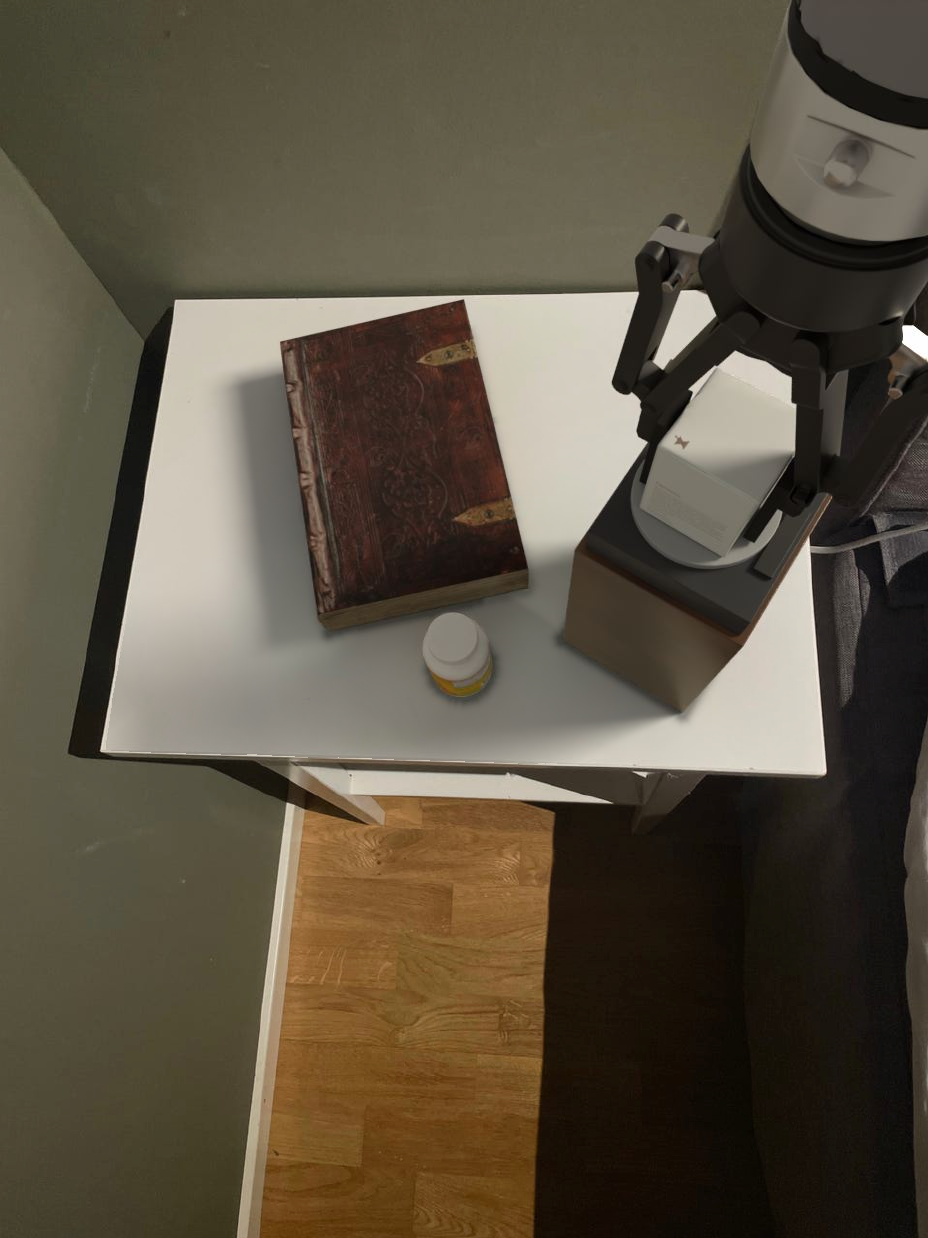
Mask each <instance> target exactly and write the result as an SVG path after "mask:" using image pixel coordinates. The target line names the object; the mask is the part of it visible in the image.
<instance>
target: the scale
mask: <svg viewBox="0 0 928 1238" xmlns="http://www.w3.org/2000/svg"><path fill="white" fill-rule="evenodd" d="M646 444H647V445H646ZM646 444H645V445H646V446H645V445H644V447H645V448H644V447H643V448H644V449H643V448H642V450H643V451H642V450H641V451H642V452H641V451H640V453H641V454H640V453H639V454H640V455H639V454H638V456H639V457H638V456H637V457H638V458H637V457H636V459H637V460H636V459H635V460H636V461H635V460H634V462H635V463H634V462H633V463H634V464H633V463H632V464H631V466H632V467H631V466H630V467H631V468H630V467H629V469H630V470H629V469H628V470H629V471H628V470H627V472H628V473H627V472H626V473H627V474H626V473H625V475H626V476H625V475H624V476H625V477H624V476H623V478H624V479H623V478H622V479H623V480H622V479H621V481H622V482H621V481H620V482H621V483H620V482H619V484H620V485H619V484H618V485H619V486H618V485H617V487H618V488H617V487H616V488H617V489H616V488H615V490H616V491H615V490H614V491H615V492H614V491H613V492H614V493H612V494H613V495H612V494H611V495H612V496H610V497H611V498H610V497H609V498H610V499H609V498H608V500H609V501H608V500H607V501H608V502H607V501H606V503H607V504H606V503H605V504H606V505H605V504H604V506H605V507H604V506H603V507H604V508H603V507H602V509H603V510H602V509H601V510H602V511H601V510H600V512H601V513H600V512H599V513H600V514H599V513H598V515H599V516H598V515H597V516H598V517H597V516H596V517H597V518H596V517H595V519H596V520H595V519H594V520H595V521H594V520H593V522H594V523H593V522H592V523H593V524H591V525H592V526H591V525H590V526H591V527H589V528H590V529H589V528H588V529H589V530H588V529H587V531H588V533H587V539H586V545H585V548H587V549H588V550H590V551H592V552H594V553H595V554H597V555H599V556H601V557H602V558H604V559H606V560H608V561H609V562H611V563H613V564H615V565H616V566H618V567H620V568H622V569H623V570H625V571H627V572H629V573H630V574H632V575H634V576H636V577H638V578H639V579H641V580H643V581H645V582H646V583H648V584H650V585H652V586H653V587H655V588H657V589H659V590H660V591H662V592H664V593H666V594H667V595H669V596H671V597H673V598H674V599H676V600H678V601H680V602H681V603H683V604H685V605H687V606H689V607H690V608H692V609H694V610H696V611H697V612H699V613H701V614H703V615H704V616H706V617H708V618H710V619H711V620H713V621H715V622H717V623H718V624H720V625H722V626H724V627H725V628H727V629H729V630H731V631H732V632H734V633H736V634H738V635H741V634H742V633H743V631H744V630H745V629H746V628H747V627H748V626H749V624H750V623H751V622H752V620H753V619H754V617H755V615H756V614H757V612H758V610H759V609H760V607H761V605H762V604H763V602H764V600H765V599H766V597H767V595H768V594H769V592H770V590H771V589H772V587H773V585H774V584H775V582H776V580H777V579H778V577H779V575H780V574H781V572H782V570H783V569H784V567H785V565H786V564H787V562H788V560H789V559H790V557H791V555H792V554H793V552H794V550H795V549H796V547H797V545H798V544H799V542H800V540H801V539H802V537H803V535H804V534H805V532H806V530H807V529H808V527H809V525H810V524H811V522H812V520H813V519H814V517H815V515H816V514H817V512H818V510H819V509H820V507H821V505H822V504H823V502H824V500H825V499H826V497H827V495H828V494H829V493H818V494H817V495H816V496H815V498H814V500H813V501H812V503H811V505H810V506H809V507H807V508H805V509H804V510H803V512H802V513H801V514H800V515H799V516H796V517H791V516H789V515H787V514H786V513H784V512H782V511H780V510H777V511H776V513H775V514H774V516H773V517H772V518H771V520H770V521H769V523H768V524H767V526H766V527H765V529H764V530H763V532H762V533H761V534H760V536H759V537H758V539H757V540H756V542H755V543H753V542H751V541H749V540H747V539H745V538H743V536H744V534H745V533H746V531H747V530H748V528H749V526H750V525H751V523H752V522H753V520H754V518H755V517H756V515H757V514H758V512H759V510H760V509H761V507H762V505H763V504H764V502H765V501H766V499H767V498H768V496H769V495H768V496H767V497H766V499H765V500H764V501H763V503H762V504H761V505H760V507H759V508H758V510H757V511H756V512H755V514H754V515H753V517H752V518H751V519H750V521H749V522H748V523H747V525H746V526H745V528H744V529H743V531H742V532H741V534H740V535H739V537H738V538H737V539H736V541H735V543H734V544H733V546H732V547H731V549H730V550H729V552H728V554H727V555H726V556H725V557H722V556H720V555H718V554H717V553H715V552H713V551H712V550H710V549H708V548H706V547H705V546H703V545H701V544H700V543H698V542H696V541H695V540H693V539H691V538H689V537H688V536H686V535H684V534H683V533H681V532H679V531H678V530H676V529H674V528H673V527H671V526H669V525H668V524H666V523H664V522H663V521H661V520H659V519H657V518H656V517H654V516H652V515H651V514H649V513H647V512H646V511H644V510H642V509H641V508H640V503H641V500H642V496H643V493H644V489H645V486H646V485H645V484H643V483H641V482H640V481H639V479H640V476H641V472H642V469H643V465H644V462H645V458H646V455H647V451H648V448H649V444H650V443H649V442H648V443H646ZM791 460H792V459H791ZM790 462H791V461H790ZM788 465H789V464H788ZM770 493H771V492H770ZM829 495H830V494H829Z"/></svg>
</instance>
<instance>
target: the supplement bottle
mask: <svg viewBox="0 0 928 1238" xmlns="http://www.w3.org/2000/svg"><path fill="white" fill-rule="evenodd" d="M422 655H423V660H424V662H425V664H426V666H427V669H428V670H429V672H430V675H431V676H432V678H433V680H434V683H435V684H436V685H437V687H438V689H440V690H441V691H443V692H444V693H445V694H447V695H450V696H451V697H457V698H465V697H471V696H473V695H476V694H478V693H479V692H480V691H482V690H483V689H484V688H485V687H486V686H487V685H488V683H489V682H490V679H491V677H492V673H493V659H492V653H491V649H490V643H489V639H488V637H487V633H486V631H485V630H484V629H483V627H482V626H481V625H480V624H479V623H478V622H477V621H475V620H474V619H472V618H470V617H468V616H467V615H465V614H463V613H460V612H454V611H453V612H452V611H451V612H446V613H443V614H440V615H439V616H437V617H436V618H434V620H433V621H432V622H431V623H430V625H429V627H428V629H427V631H426V633H425V635H424V638H423V641H422Z"/></svg>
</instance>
